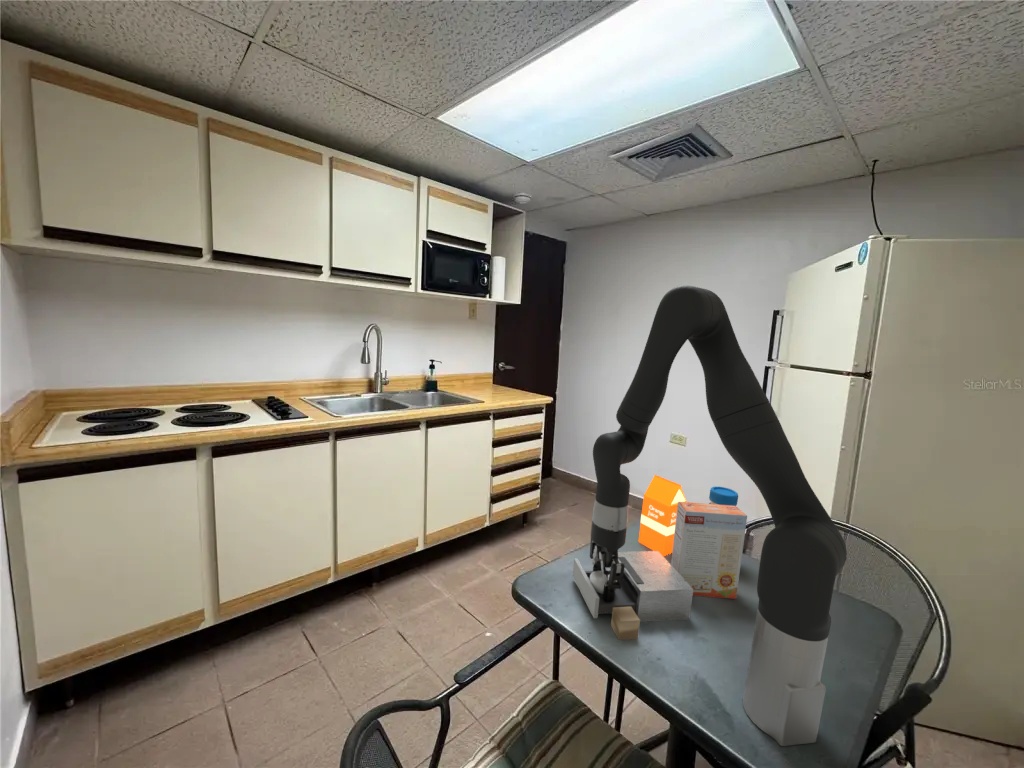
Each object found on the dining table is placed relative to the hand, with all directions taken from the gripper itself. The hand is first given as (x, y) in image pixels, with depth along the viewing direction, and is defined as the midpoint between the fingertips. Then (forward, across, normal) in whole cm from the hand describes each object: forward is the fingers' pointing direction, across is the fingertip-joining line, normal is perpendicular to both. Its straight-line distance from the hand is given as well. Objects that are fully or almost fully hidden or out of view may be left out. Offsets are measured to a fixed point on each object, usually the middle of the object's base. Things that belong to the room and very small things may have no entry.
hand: (602, 590), depth 93 cm
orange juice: (+2, -22, +26) cm, 34 cm away
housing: (+2, 0, +11) cm, 11 cm away
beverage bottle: (+2, -14, +38) cm, 41 cm away
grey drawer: (+1, 0, +1) cm, 2 cm away
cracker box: (+2, -2, +26) cm, 26 cm away
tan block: (+2, +10, +1) cm, 10 cm away
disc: (-1, 0, 0) cm, 1 cm away
